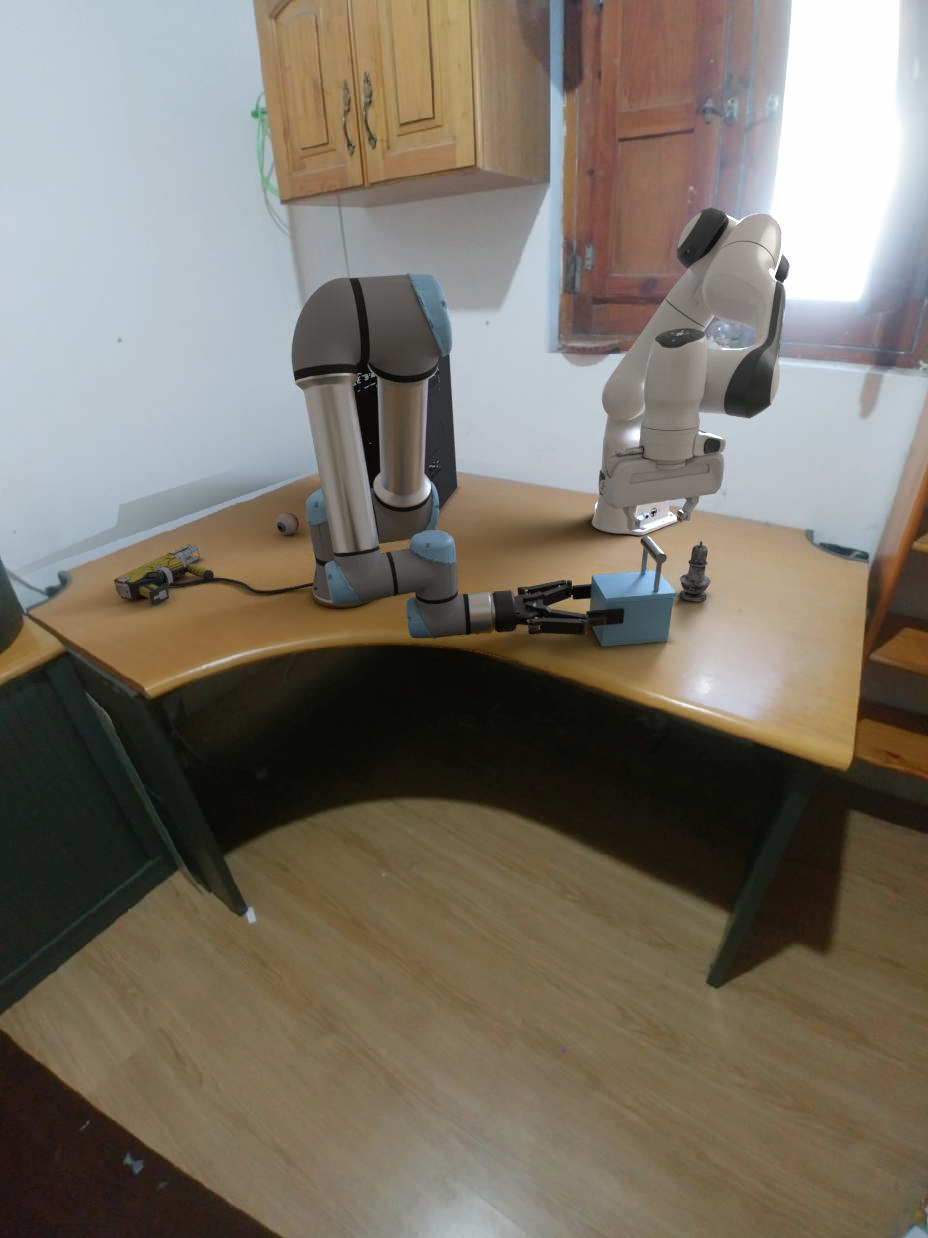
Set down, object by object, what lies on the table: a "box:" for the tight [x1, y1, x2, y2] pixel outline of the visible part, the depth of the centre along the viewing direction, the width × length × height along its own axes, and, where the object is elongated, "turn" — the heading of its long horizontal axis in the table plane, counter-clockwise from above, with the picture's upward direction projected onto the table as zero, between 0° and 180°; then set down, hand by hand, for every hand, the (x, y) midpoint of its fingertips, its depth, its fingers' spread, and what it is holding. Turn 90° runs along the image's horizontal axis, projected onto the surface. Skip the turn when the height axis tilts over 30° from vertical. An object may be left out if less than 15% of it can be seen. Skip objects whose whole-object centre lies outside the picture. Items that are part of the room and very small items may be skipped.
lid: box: [591, 535, 678, 603], centre depth 107 cm, size 12×9×8 cm
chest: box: [589, 580, 675, 648], centre depth 111 cm, size 12×9×9 cm
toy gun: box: [113, 543, 215, 606], centre depth 141 cm, size 5×24×15 cm
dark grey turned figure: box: [678, 540, 712, 603], centre depth 120 cm, size 6×6×12 cm
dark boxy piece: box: [353, 353, 458, 512], centre depth 169 cm, size 38×20×45 cm, turn 167°
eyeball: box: [275, 511, 300, 536], centre depth 163 cm, size 6×6×6 cm
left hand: (614, 602), depth 110 cm, fingers closed on chest, 9 cm apart
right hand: (658, 524), depth 103 cm, fingers open, 8 cm apart
